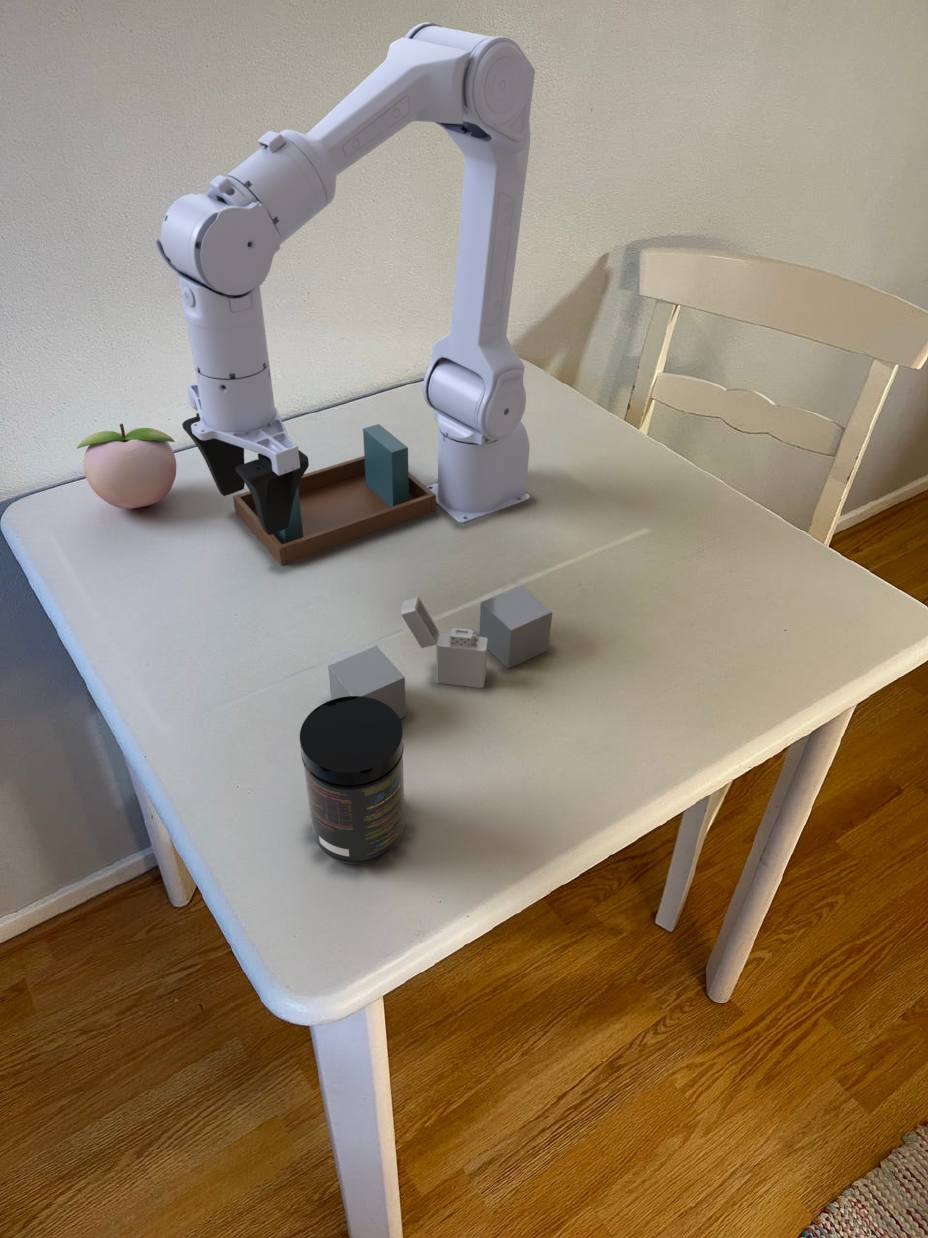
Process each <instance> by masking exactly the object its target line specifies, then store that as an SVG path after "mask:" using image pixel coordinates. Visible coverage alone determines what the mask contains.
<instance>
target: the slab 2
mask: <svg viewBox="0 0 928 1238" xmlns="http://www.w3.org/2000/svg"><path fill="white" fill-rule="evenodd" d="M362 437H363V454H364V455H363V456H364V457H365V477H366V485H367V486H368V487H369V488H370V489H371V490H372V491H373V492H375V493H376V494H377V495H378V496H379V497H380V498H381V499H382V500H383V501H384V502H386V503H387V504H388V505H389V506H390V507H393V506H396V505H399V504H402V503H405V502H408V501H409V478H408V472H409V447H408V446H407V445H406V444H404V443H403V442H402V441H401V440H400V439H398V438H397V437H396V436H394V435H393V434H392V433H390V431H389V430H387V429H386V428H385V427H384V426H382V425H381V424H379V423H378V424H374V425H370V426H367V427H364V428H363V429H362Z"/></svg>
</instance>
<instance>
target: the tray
mask: <svg viewBox="0 0 928 1238" xmlns="http://www.w3.org/2000/svg"><path fill="white" fill-rule="evenodd" d="M408 478H409V501H408V502H405V503H402V504H399V505H396V506H393V507H390V506H389V505H388V504H387V503H386V502H384V501H383V500H382V499H381V498H380V497H379V496H378V495H377V494H376V493H375V492H373V491H372V490H371V489H370V488H369V487H368V486H367V485H366V477H365V457H364V455H362V456H359V457H356V458H353V459H349V460H346V461H342V462H339V463H337V464H333V465H329V466H327V467H323V468H320V469H317V470H313V471H311V472H310V471H309V472H307V473H304V475H303V476H302V478H301V480H300V482H299V485H298V491H299V500H300V510H301V519H302V528H303V537H302V538H300V539H297V540H294V541H291V542H288V543H285V544H284V543H283V542H282V541H281V540H280V539H279V537H278V536H277V535H276V534H275V533H274V534H272V535H268V534H267V533H266V532H265V531H264V529H263V528H262V525H261V523H260V520H259V517H258V513H257V509H256V506H255V502H254V500H253V497H252V495H251V493H250V491H249V490H248V491H244V492H242V493H238V494H236V495H233V496H232V500H233V506H234V513H235V514H236V516H237V517H239V519H240V520H241V521H242V523H243V524H244V525H245V526H246V527H247V528H248V529H249V530H250V531H251V532H252V534H253V535H254V536H255V537H256V538H257V540H258V541H259V542H260V543H261V544H262V545H263V547H264V548H265V549H266V550H267V552H269V553H270V555H271V556H272V557H273V558H274V559H275V561H277V563H278V564H279V565H280V567H283V566H285V565H289V564H291V563H294V562H296V561H299V560H302V559H306V558H308V557H311V556H313V555H317V554H319V553H322V552H325V551H327V550H331V549H334V548H336V547H339V546H342V545H345V544H347V543H351V542H354V541H356V540H359V539H362V538H364V537H367V536H371V535H374V534H376V533H379V532H382V531H384V530H388V529H390V528H393V527H396V526H399V525H401V524H404V523H407V522H410V521H414V520H415V519H419V518H421V517H424V516H427V515H430V514H434V513H435V512H436V513H437V503H436V495H435V494H434V493H433V492H432V491H430V490H429V489H430V488H427V486H426V485H425V484H424V483H422V482H421V481H420V480H419V479H417V477H415V476H414V475H413V474H411V473H410V472H409V471H408Z"/></svg>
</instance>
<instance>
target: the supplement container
mask: <svg viewBox="0 0 928 1238" xmlns="http://www.w3.org/2000/svg"><path fill="white" fill-rule="evenodd" d="M299 744H300V745H299V746H300V754H301V755H300V756H301V760H302V765H303V769H304V777H305V785H306V791H307V798H308V799H307V800H308V806H309V811H310V812H309V815H310V821H311V828H312V834H313V838H314V841H315V843H316V844H317V846H318V848H319V849H320V850H321V851H322V852H323V853H324V854H325V855H327V856H328V857H329V858H331V859H333V860H335V861H337V862H340V863H344V864H348V865H363V864H368V863H372V862H376V861H377V860H380V859H382V858H383V857H385V856H386V855H388V854H389V853H391V851H392V850H393V849H395V848H396V846H397V845H398V843H400V840H401V839H402V836H403V834H404V830H405V824H406V823H405V822H406V820H405V785H404V781H405V779H404V750H405V749H404V747H405V746H404V745H405V744H404V728H403V723H402V721H401V719H399V717H398V715H397V714H396V713H395V711H394V710H393V709H392V708H390V707H389V706H388V705H386V704H385V703H383V702H381V701H378V700H376V699H373V698H368V697H362V696H347V697H341V698H337V699H333V700H328V701H325V702H324V703H322V704H320V705H318V706H317V707H316V708H314V709H313V710H312V711H311V712H310V713H309V714H308V715H307V716H306V718H305V719H304V721H303V723H302V724H301V727H300V730H299Z"/></svg>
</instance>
